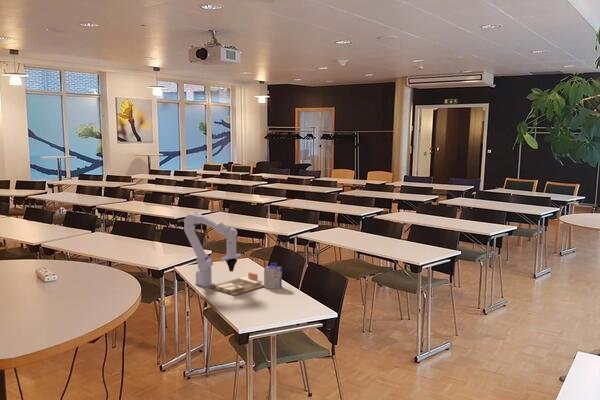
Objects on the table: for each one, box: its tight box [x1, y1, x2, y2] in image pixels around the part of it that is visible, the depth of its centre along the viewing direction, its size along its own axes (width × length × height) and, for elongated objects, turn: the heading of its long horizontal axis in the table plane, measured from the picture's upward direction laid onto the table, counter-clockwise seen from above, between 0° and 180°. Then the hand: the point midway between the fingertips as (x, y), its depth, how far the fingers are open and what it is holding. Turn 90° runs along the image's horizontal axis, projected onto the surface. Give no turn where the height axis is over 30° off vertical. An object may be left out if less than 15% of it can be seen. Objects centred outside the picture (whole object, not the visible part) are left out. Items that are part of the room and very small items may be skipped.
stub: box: [238, 272, 263, 285], centre depth 303 cm, size 14×6×5 cm, turn 51°
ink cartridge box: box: [263, 262, 283, 290], centre depth 296 cm, size 10×6×14 cm, turn 78°
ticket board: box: [208, 277, 264, 297], centre depth 294 cm, size 22×24×2 cm
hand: (231, 271), depth 295 cm, fingers closed
